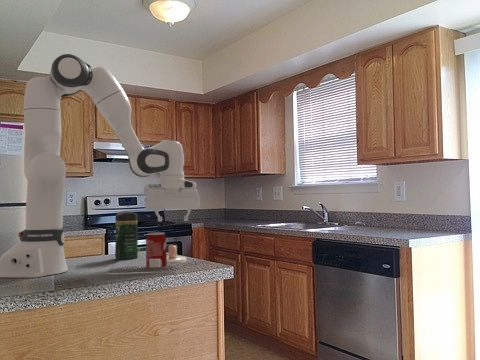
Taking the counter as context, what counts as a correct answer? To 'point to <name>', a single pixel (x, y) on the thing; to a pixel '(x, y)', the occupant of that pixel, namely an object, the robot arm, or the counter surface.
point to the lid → (174, 255)
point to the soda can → (156, 250)
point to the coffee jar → (126, 236)
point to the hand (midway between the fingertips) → (173, 221)
